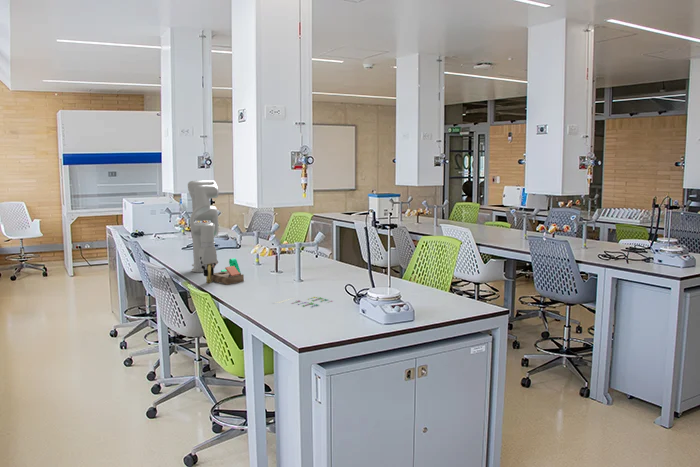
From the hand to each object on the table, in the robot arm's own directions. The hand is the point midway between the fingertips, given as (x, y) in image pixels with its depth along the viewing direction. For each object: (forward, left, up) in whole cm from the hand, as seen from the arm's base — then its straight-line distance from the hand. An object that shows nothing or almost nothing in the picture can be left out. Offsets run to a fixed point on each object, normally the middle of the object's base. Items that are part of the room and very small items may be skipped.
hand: (208, 275), depth 337 cm
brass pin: (0, 0, -4) cm, 4 cm away
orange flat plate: (+10, +10, +2) cm, 14 cm away
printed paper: (+81, +8, -5) cm, 82 cm away
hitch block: (+4, +10, -4) cm, 12 cm away
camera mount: (-10, +23, -5) cm, 25 cm away
